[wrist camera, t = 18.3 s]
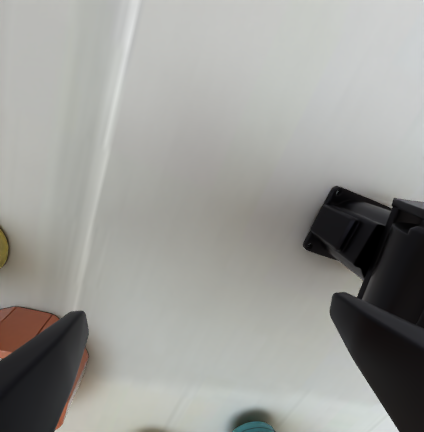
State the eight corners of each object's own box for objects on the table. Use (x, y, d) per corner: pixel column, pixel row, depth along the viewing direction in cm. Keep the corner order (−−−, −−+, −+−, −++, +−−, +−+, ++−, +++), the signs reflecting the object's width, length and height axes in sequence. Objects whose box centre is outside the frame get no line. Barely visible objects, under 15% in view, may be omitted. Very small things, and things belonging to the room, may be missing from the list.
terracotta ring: (98, 323, 23) (79, 364, 19) (74, 405, 26) (52, 456, 22) (-36, 294, 21) (-92, 334, 17) (-47, 388, 24) (-97, 442, 20)
